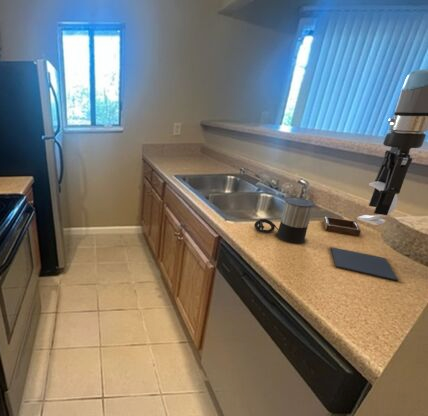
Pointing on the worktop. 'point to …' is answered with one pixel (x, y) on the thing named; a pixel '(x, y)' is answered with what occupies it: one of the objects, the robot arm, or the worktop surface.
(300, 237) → the milk frother
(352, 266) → the mat
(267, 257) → the worktop surface
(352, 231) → the tray
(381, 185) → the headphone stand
